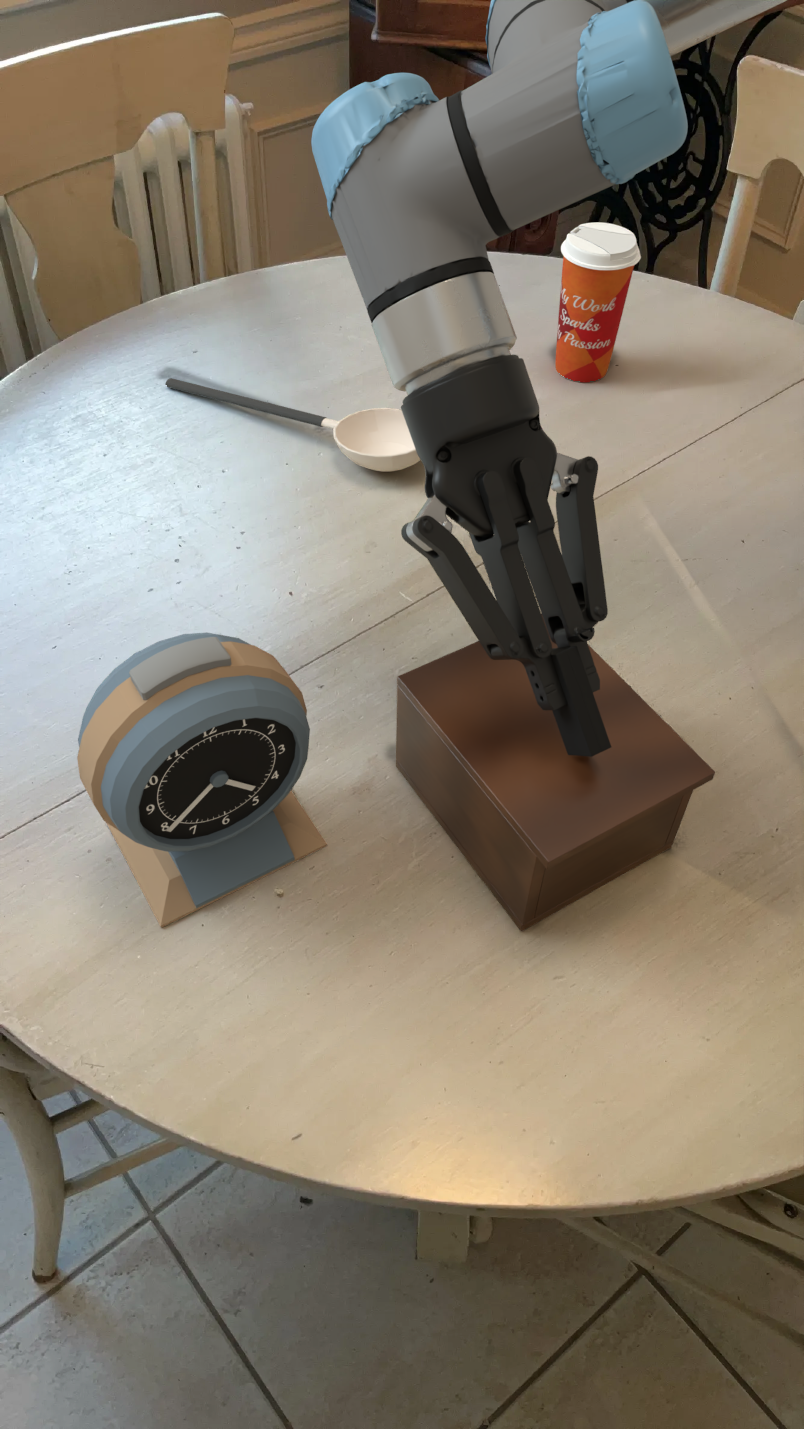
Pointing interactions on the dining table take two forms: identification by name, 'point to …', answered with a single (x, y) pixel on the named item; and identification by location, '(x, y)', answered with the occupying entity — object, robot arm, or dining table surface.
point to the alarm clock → (198, 768)
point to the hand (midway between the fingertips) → (589, 750)
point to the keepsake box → (500, 847)
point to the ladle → (339, 429)
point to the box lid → (552, 751)
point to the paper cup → (592, 297)
